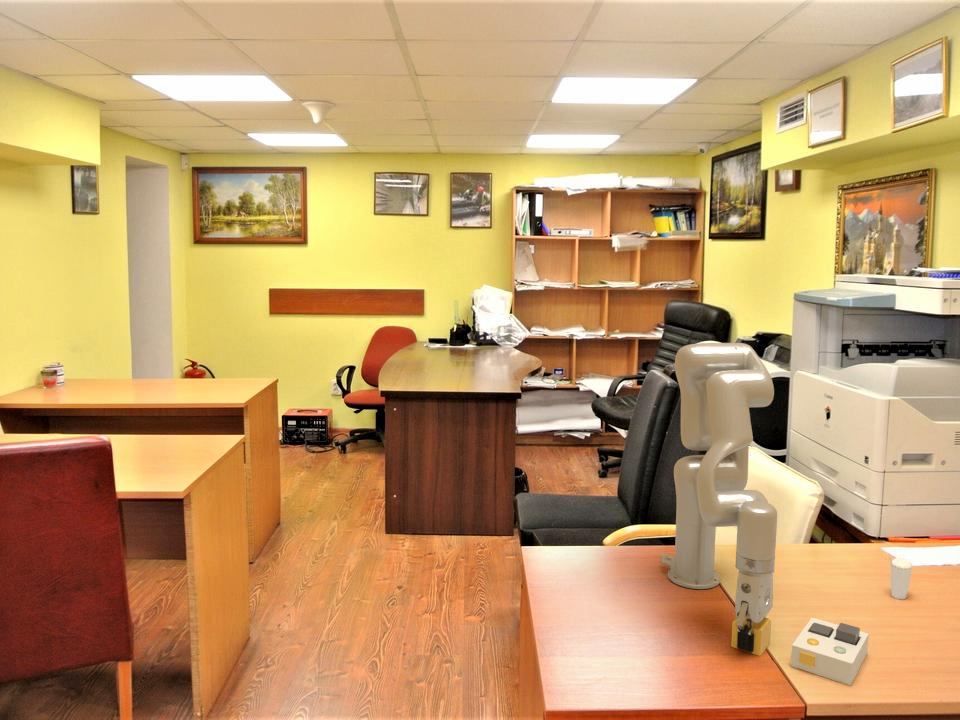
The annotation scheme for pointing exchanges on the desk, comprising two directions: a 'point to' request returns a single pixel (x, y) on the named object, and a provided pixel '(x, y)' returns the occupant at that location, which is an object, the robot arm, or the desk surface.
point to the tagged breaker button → (821, 630)
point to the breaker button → (847, 634)
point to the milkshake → (900, 577)
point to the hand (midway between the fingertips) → (750, 642)
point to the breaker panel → (828, 654)
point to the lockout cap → (755, 635)
